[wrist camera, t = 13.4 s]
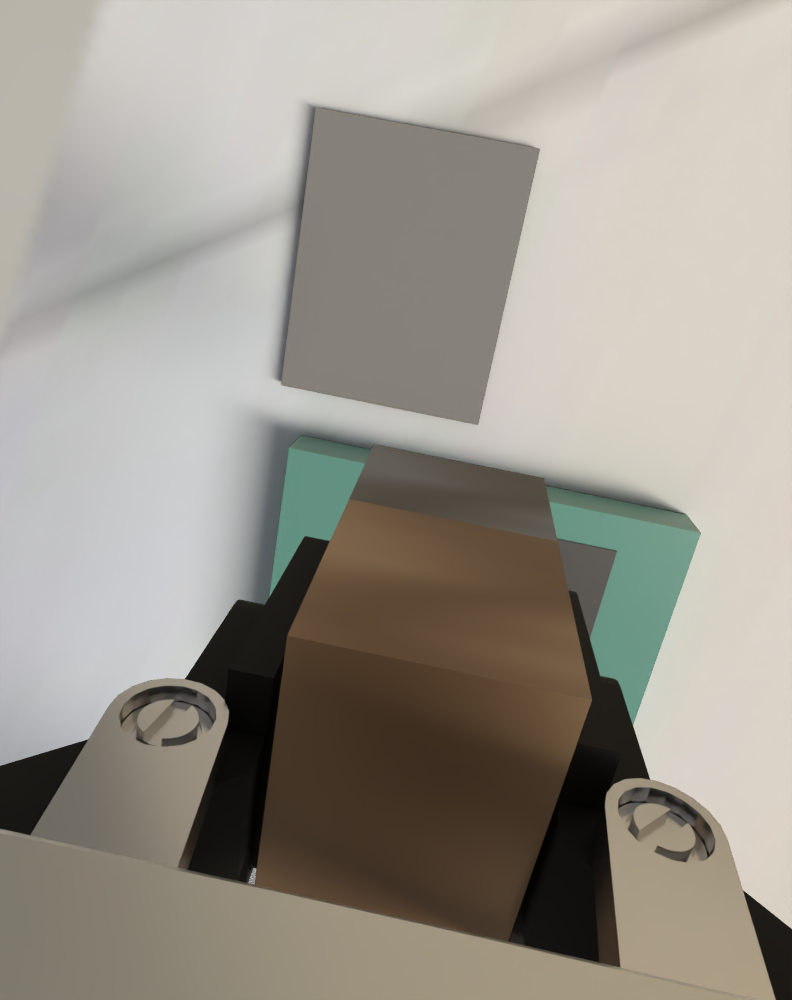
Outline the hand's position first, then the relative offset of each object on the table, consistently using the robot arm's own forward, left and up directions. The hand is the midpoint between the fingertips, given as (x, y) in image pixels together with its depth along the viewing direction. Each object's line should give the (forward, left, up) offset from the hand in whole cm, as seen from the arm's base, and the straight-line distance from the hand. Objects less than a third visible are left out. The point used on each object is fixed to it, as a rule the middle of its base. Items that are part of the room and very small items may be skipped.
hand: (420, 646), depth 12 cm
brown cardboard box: (0, -1, -2) cm, 2 cm away
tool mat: (+3, -5, -18) cm, 19 cm away
